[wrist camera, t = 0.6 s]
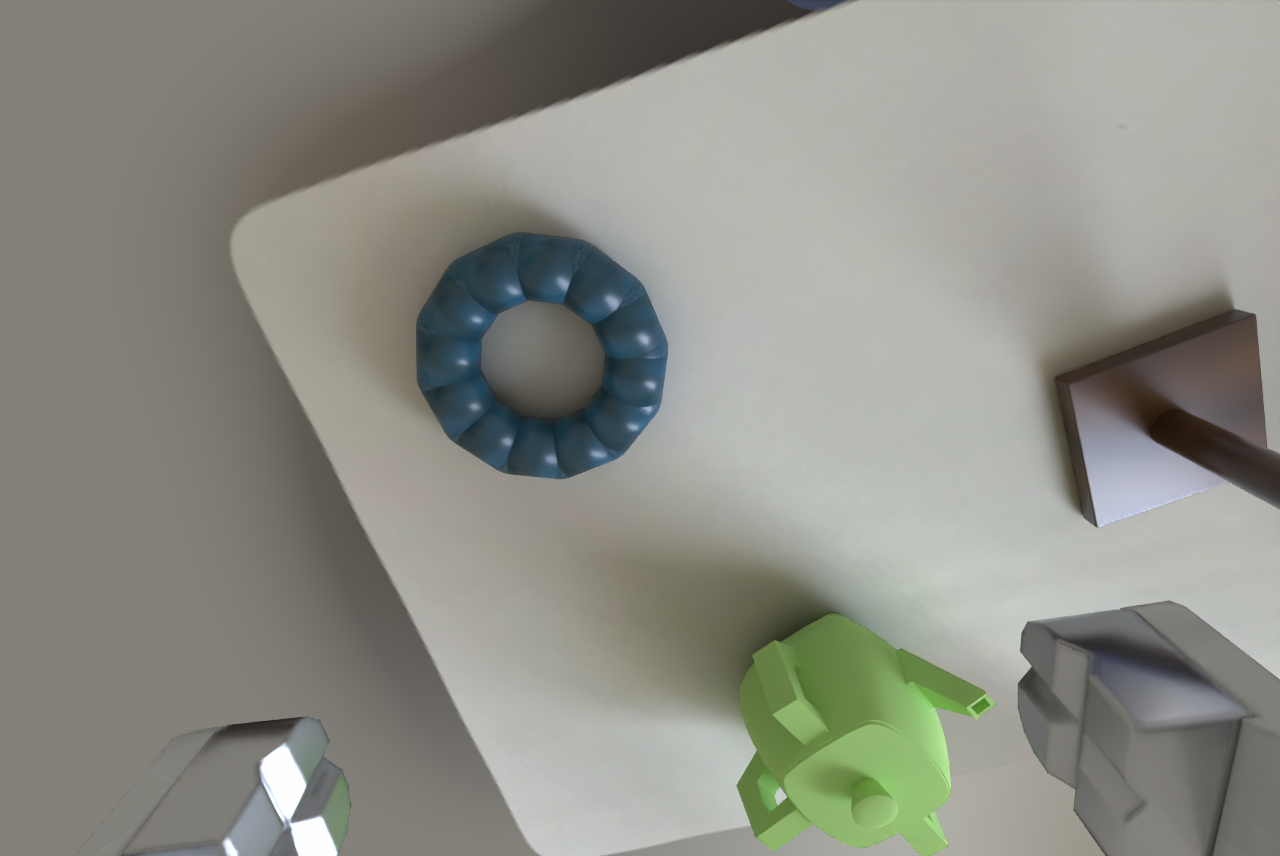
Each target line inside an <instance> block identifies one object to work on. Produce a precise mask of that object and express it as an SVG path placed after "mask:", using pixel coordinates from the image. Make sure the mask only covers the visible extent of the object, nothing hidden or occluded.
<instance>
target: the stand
mask: <svg viewBox="0 0 1280 856" xmlns="http://www.w3.org/2000/svg"><path fill="white" fill-rule="evenodd" d="M1055 382H1056V386H1057V391H1058V396H1059V401H1060V406H1061V410H1062V415H1063V420H1064V425H1065V430H1066V435H1067V439H1068V444H1069V449H1070V454H1071V459H1072V464H1073V468H1074V473H1075V478H1076V483H1077V488H1078V493H1079V497H1080V502H1081V507H1082V512H1083V517H1084V518H1085V519H1086V520H1088V521H1089V522H1090V523H1091V524H1093V525H1094V526H1095V527H1100V526H1103V525H1106V524H1109V523H1112V522H1115V521H1118V520H1121V519H1124V518H1127V517H1130V516H1133V515H1135V514H1138V513H1141V512H1144V511H1147V510H1150V509H1153V508H1156V507H1159V506H1162V505H1165V504H1167V503H1170V502H1173V501H1176V500H1179V499H1182V498H1185V497H1188V496H1191V495H1194V494H1197V493H1200V492H1202V491H1205V490H1208V489H1211V488H1214V487H1217V486H1220V485H1223V484H1226V483H1229V482H1230V483H1232V484H1233V485H1235V486H1237V487H1239V488H1241V489H1243V490H1245V491H1246V492H1248V493H1250V494H1252V495H1254V496H1256V497H1258V498H1259V499H1261V500H1263V501H1265V502H1267V503H1269V504H1271V505H1273V506H1274V507H1276V508H1278V509H1280V454H1279V453H1276V452H1274V451H1272V450H1270V449H1268V448H1267V439H1266V427H1265V415H1264V403H1263V392H1262V380H1261V368H1260V357H1259V345H1258V333H1257V322H1256V315H1255V314H1253V313H1249V312H1245V311H1241V310H1233V311H1230V312H1227V313H1225V314H1222V315H1220V316H1217V317H1214V318H1212V319H1209V320H1206V321H1204V322H1201V323H1198V324H1196V325H1193V326H1190V327H1188V328H1185V329H1183V330H1180V331H1177V332H1175V333H1172V334H1169V335H1167V336H1164V337H1161V338H1159V339H1156V340H1153V341H1151V342H1148V343H1145V344H1143V345H1140V346H1138V347H1135V348H1132V349H1130V350H1127V351H1124V352H1122V353H1119V354H1116V355H1114V356H1111V357H1108V358H1106V359H1103V360H1101V361H1098V362H1095V363H1093V364H1090V365H1087V366H1085V367H1082V368H1079V369H1077V370H1074V371H1071V372H1069V373H1066V374H1063V375H1061V376H1058V377H1056V378H1055Z"/></svg>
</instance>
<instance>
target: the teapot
mask: <svg viewBox="0 0 1280 856" xmlns="http://www.w3.org/2000/svg"><path fill="white" fill-rule="evenodd" d="M752 657H753V660H754V664H753V665H752V666H751V667H750V668H749V669H748V671H747V672H746V674H745V676H744V678H743V680H742V683H741V686H740V688H739V704H740V708H741V712H742V716H743V719H744V722H745V725H746V727H747V730H748V733H749V735H750V737H751V739H752V741H753V743H754V745H755V747H756V749H757V751H756V753H755V755H754V757H753V758H752V760H751V762H750V763H749V765H748V767H747V768H746V770H745V772H744V773H743V775H742V777H741V779H740V780H739V782H738V784H737V788H738V791H739V793H740V796H741V799H742V802H743V804H744V807H745V810H746V813H747V815H748V818H749V821H750V824H751V826H752V829H753V832H754V835H755V837H756V838H757V839H758V840H759V841H760V842H762V843H763V844H764V845H766V846H767V847H768V848H770V849H771V850H772V851H776V850H777V849H778V848H780V847H781V846H782V845H784V844H786V843H787V842H789V841H790V840H791V839H793V838H794V837H796V836H797V835H799V834H800V833H801V832H803V831H804V830H806V829H807V828H809V827H810V826H811V825H813V824H814V825H815V826H817V827H818V828H820V829H821V830H822V831H824V832H825V833H827V834H828V835H830V836H831V837H833V838H835V839H836V840H838V841H840V842H842V843H844V844H847V845H849V846H853V847H857V848H866V847H869V846H872V845H874V844H877V843H879V842H881V841H884V840H886V839H888V838H889V837H892V836H894V835H895V834H897V833H900V834H901V835H902V836H903V837H904V838H905V839H906V840H907V841H908V842H909V843H910V844H911V846H912V847H913V848H914V849H915V850H916V851H917V852H918V853H919V854H920V855H921V856H931V855H933V854H935V853H937V852H939V851H941V850H943V849H945V848H947V847H948V844H947V841H946V839H945V836H944V834H943V831H942V829H941V826H940V824H939V821H938V818H937V816H936V813H935V811H936V810H937V809H939V808H940V807H941V806H942V805H944V804H945V803H946V802H947V800H948V799H949V797H950V794H951V781H950V770H949V761H948V754H947V747H946V741H945V737H944V733H943V730H942V727H941V724H940V721H939V718H938V715H937V712H936V710H935V708H934V707H936V708H940V709H944V710H948V711H952V712H956V713H960V714H965V715H969V716H973V717H974V718H975V719H977V718H979V717H980V716H981V715H983V714H984V713H985V712H987V711H988V710H990V709H991V708H992V707H994V706H995V705H996V704H995V703H994V702H993V701H992V699H991V698H990V697H989V696H988V694H987V693H986V692H985V691H984V690H982V689H980V688H978V687H976V686H974V685H972V684H970V683H969V682H967V681H965V680H963V679H961V678H959V677H957V676H955V675H953V674H951V673H949V672H947V671H945V670H943V669H941V668H939V667H937V666H935V665H933V664H931V663H929V662H927V661H925V660H923V659H921V658H919V657H918V656H916V655H914V654H912V653H910V652H908V651H906V650H904V649H902V648H901V649H899V650H896V649H895V648H894V647H893V646H891V645H890V644H889V643H888V642H886V641H885V640H883V639H882V638H880V637H879V636H878V635H876V634H874V633H873V632H871V631H869V630H868V629H866V628H865V627H863V626H861V625H860V624H858V623H856V622H854V621H852V620H849V619H846V618H845V617H844V616H842V615H840V614H836V613H831V614H827V615H825V616H823V617H822V618H820V619H819V620H817V621H815V622H813V623H811V624H809V625H807V626H805V627H804V628H802V629H800V630H799V631H797V632H795V633H794V634H792V635H791V636H789V637H788V638H786V639H785V640H783V641H782V642H779V641H776V640H774V641H773V642H771V643H770V644H768V645H766V646H765V647H763V648H762V649H760V650H759V651H757V652H756V653H754V654H753V655H752ZM779 786H780V787H781V789H782V790H783V791H784V793H785V794H786V795H787V798H786V799H785V800H784V801H783V802H782V803H780V804H779V805H778V806H777V803H776V800H775V797H774V794H775V793H776V791H777V790H778V788H779Z"/></svg>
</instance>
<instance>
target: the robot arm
mask: <svg viewBox="0 0 1280 856" xmlns="http://www.w3.org/2000/svg"><path fill="white" fill-rule="evenodd" d="M1020 652H1021V653H1022V654H1023V656H1024V657H1025V658H1026V659H1027V661H1028V662H1029V663H1030V664H1031V666H1032V667H1031V668H1030V670H1029V671H1028V672H1027V673H1026V674H1025V676H1024V677H1023V678H1022V679H1021V680H1020V682H1019V683H1018V710H1019V714H1020V718H1021V722H1022V726H1023V729H1024V733H1025V735H1026V737H1027V739H1028V741H1029V743H1030V745H1031V748H1032V750H1033V752H1034V753H1035V755H1036V756H1037V758H1038V759H1039V761H1040V762H1041V764H1042V765H1043V767H1044V768H1045V770H1046V771H1047V773H1049V774H1050V775H1052V776H1054V777H1056V778H1057V779H1059V780H1061V781H1062V782H1064V783H1066V784H1067V785H1069V786H1071V787H1072V788H1074V789H1075V799H1074V812H1075V813H1076V814H1077V816H1078V817H1079V819H1080V820H1081V821H1082V823H1083V824H1084V826H1085V827H1086V829H1087V830H1088V832H1089V833H1090V834H1091V836H1092V837H1093V839H1094V840H1095V841H1096V843H1097V844H1098V846H1099V847H1100V848H1101V850H1102V851H1103V853H1104V854H1105V856H1280V679H1278V678H1277V677H1276V676H1274V675H1273V674H1272V673H1271V672H1269V671H1268V670H1267V669H1265V668H1264V667H1263V666H1262V665H1260V664H1259V663H1258V662H1256V661H1255V660H1254V659H1253V658H1251V657H1250V656H1249V655H1247V654H1246V653H1245V652H1244V651H1242V650H1241V649H1240V648H1238V647H1237V646H1236V645H1234V644H1233V643H1232V642H1231V641H1229V640H1228V639H1227V638H1225V637H1224V636H1223V635H1222V634H1220V633H1219V632H1218V631H1216V630H1215V629H1214V628H1213V627H1211V626H1210V625H1209V624H1207V623H1206V622H1205V621H1203V620H1202V619H1201V618H1200V617H1198V616H1197V615H1196V614H1194V613H1193V612H1192V611H1191V610H1189V609H1188V608H1187V607H1185V606H1183V605H1180V604H1177V603H1174V602H1172V601H1163V602H1157V603H1150V604H1144V605H1137V606H1130V607H1124V608H1121V609H1119V610H1109V611H1102V612H1095V613H1087V614H1080V615H1073V616H1066V617H1058V618H1051V619H1044V620H1037V621H1030V622H1027V624H1026V625H1025V627H1024V629H1023V631H1022V634H1021V646H1020ZM329 742H330V739H329V737H328V735H327V733H326V731H325V729H324V727H323V725H322V723H321V721H320V720H319V719H316V718H311V717H298V718H289V719H279V720H269V721H260V722H251V723H242V724H232V725H227V726H223V727H212V728H203V729H193V730H187V731H185V732H183V733H181V734H179V735H177V736H175V737H173V738H171V739H170V741H169V742H168V743H167V745H165V747H164V748H163V749H162V750H161V752H160V753H159V754H158V755H157V756H156V757H155V759H154V760H153V761H152V762H151V763H150V765H149V766H148V767H147V768H146V770H145V771H144V772H143V773H142V774H141V776H140V777H139V778H138V779H137V780H136V782H135V783H134V784H133V785H132V786H131V788H130V789H129V790H128V791H127V792H126V794H125V795H124V796H123V797H122V799H121V800H120V801H119V802H118V803H117V805H116V806H115V807H114V808H113V809H112V811H111V812H110V813H109V814H108V816H107V817H106V818H105V819H104V820H103V821H102V823H101V824H100V825H99V826H98V828H97V829H96V830H95V831H94V832H93V834H92V835H91V836H90V837H89V838H88V840H87V841H86V842H85V843H84V844H83V846H82V847H81V848H80V849H79V850H78V852H77V853H76V854H75V855H74V856H338V855H339V852H340V849H341V847H342V845H343V842H344V840H345V837H346V835H347V831H348V823H349V817H350V810H351V801H350V793H349V785H348V783H347V780H346V778H345V775H344V773H343V770H342V769H341V768H339V767H338V766H336V765H335V764H334V763H332V762H331V761H329V760H327V759H326V758H325V757H324V754H325V752H326V749H327V747H328V745H329Z"/></svg>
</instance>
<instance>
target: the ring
mask: <svg viewBox="0 0 1280 856" xmlns="http://www.w3.org/2000/svg"><path fill="white" fill-rule="evenodd" d="M528 300H530V301H539V302H547V303H556V304H563V305H565V306H566V307H567V308H569V309H570V310H572V311H573V312H574V313H576V314H577V315H579V316H580V317H581V318H583V319H584V320H585V321H587V322H588V323H590V324H591V325H592V327H593V329H594V331H595V334H596V336H597V338H598V340H599V342H600V344H601V346H602V349H603V351H604V353H605V362H604V372H603V382H602V386H601V387H600V388H599V390H598V391H597V392H596V394H595V395H594V396H593V398H592V399H591V400H590V401H589V403H588V404H587V405H586V407H585V408H584V409H581V410H579V411H576V412H574V413H572V414H569V415H567V416H564V417H562V418H559V419H557V420H552V419H543V418H534V417H524V416H522V415H521V414H519V413H518V412H516V411H515V410H513V409H512V408H510V407H509V406H507V405H506V404H504V403H503V402H501V401H500V400H498V399H497V398H496V397H495V395H494V394H493V392H492V390H491V388H490V386H489V384H488V383H487V381H486V379H485V377H484V375H483V373H482V372H481V339H482V337H483V336H484V335H485V333H486V332H487V330H488V329H489V327H490V326H491V324H492V323H493V321H494V320H495V318H496V317H497V315H498V314H499V313H501V312H503V311H505V310H508V309H510V308H512V307H514V306H517V305H519V304H521V303H523V302H526V301H528ZM667 356H668V343H667V340H666V337H665V334H664V332H663V330H662V327H661V325H660V323H659V320H658V318H657V316H656V313H655V311H654V308H653V306H652V304H651V301H650V299H649V297H648V294H647V292H646V290H645V288H644V286H643V285H642V283H641V282H640V281H639V280H638V279H637V278H636V277H635V276H633V275H632V274H631V273H629V272H628V271H627V270H625V269H624V268H623V267H621V266H620V265H619V264H617V263H616V262H615V261H613V260H612V259H611V258H609V257H608V256H607V255H605V254H604V253H603V252H601V251H600V250H599V249H597V248H596V247H595V246H593V245H592V244H590V243H588V242H586V241H584V240H579V239H573V238H565V237H556V236H548V235H540V234H531V233H513V234H510V235H507V236H505V237H503V238H500V239H498V240H496V241H494V242H492V243H490V244H487V245H485V246H483V247H481V248H479V249H477V250H474V251H472V252H470V253H468V254H466V255H464V256H461V257H459V258H458V259H456V260H455V261H454V262H452V263H451V264H450V266H449V267H448V268H447V270H446V271H445V273H444V274H443V276H442V278H441V279H440V281H439V282H438V284H437V286H436V287H435V289H434V290H433V292H432V294H431V295H430V297H429V298H428V300H427V302H426V303H425V305H424V306H423V308H422V310H421V311H420V313H419V315H418V318H417V323H416V362H417V383H418V386H419V388H420V390H421V392H422V394H423V396H424V397H425V399H426V401H427V402H428V404H429V406H430V408H431V409H432V411H433V413H434V414H435V416H436V418H437V420H438V421H439V423H440V425H441V426H442V428H443V430H444V432H445V433H446V435H447V436H448V437H449V438H450V439H451V440H452V441H453V442H454V443H456V444H457V445H459V446H460V447H462V448H463V449H465V450H466V451H468V452H470V453H471V454H473V455H474V456H476V457H478V458H479V459H481V460H482V461H484V462H485V463H487V464H489V465H490V466H492V467H493V468H495V469H496V470H498V471H501V472H503V473H507V474H513V475H523V476H533V477H543V478H553V479H566V478H570V477H573V476H575V475H578V474H580V473H583V472H585V471H588V470H590V469H593V468H595V467H598V466H600V465H603V464H605V463H608V462H610V461H613V460H615V459H617V458H619V457H620V456H622V455H623V454H624V453H625V452H626V451H627V450H628V448H629V447H630V446H631V445H632V443H633V442H634V441H635V440H636V438H637V437H638V436H639V435H640V433H641V432H642V431H643V430H644V428H645V427H646V426H647V425H648V423H649V422H650V421H651V420H652V418H653V417H654V416H655V415H656V413H657V412H658V410H659V407H660V405H661V400H662V392H663V385H664V378H665V370H666V363H667Z"/></svg>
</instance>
